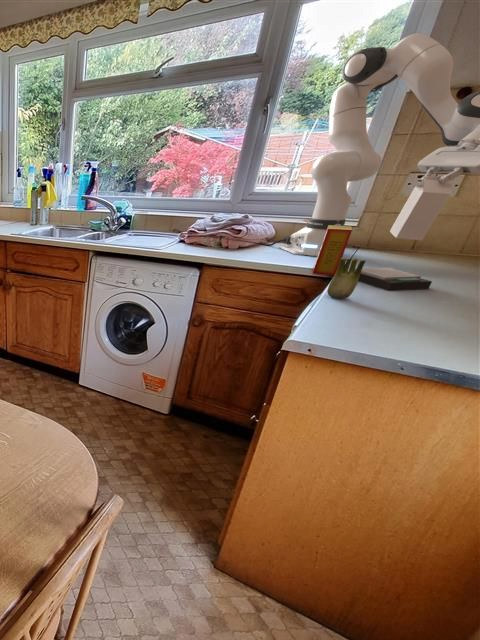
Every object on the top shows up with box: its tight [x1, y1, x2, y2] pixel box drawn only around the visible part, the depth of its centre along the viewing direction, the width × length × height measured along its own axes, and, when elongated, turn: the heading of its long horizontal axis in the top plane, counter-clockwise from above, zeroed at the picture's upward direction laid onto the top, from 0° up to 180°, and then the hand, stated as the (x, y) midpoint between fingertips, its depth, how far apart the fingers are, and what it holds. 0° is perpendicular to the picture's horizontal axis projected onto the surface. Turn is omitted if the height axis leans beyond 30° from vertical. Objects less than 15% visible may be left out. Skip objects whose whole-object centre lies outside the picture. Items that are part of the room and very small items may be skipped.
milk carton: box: [389, 175, 456, 241], centre depth 142 cm, size 7×7×19 cm
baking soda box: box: [312, 225, 353, 277], centre depth 155 cm, size 10×6×16 cm
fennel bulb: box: [327, 257, 367, 300], centre depth 129 cm, size 6×5×12 cm
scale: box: [354, 267, 433, 291], centre depth 143 cm, size 16×13×3 cm
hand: (432, 181), depth 138 cm, fingers closed on milk carton, 4 cm apart
